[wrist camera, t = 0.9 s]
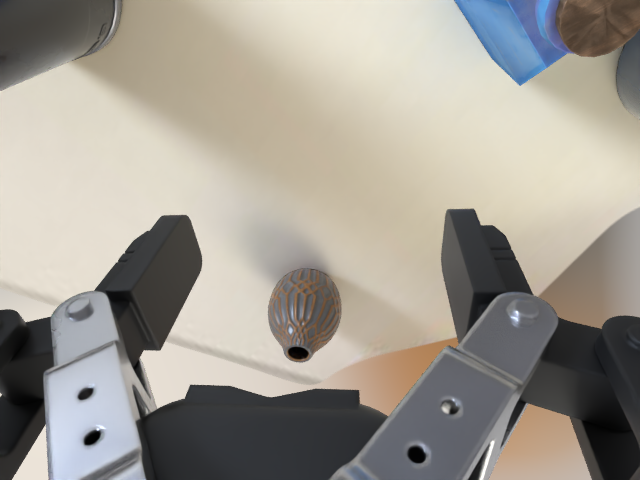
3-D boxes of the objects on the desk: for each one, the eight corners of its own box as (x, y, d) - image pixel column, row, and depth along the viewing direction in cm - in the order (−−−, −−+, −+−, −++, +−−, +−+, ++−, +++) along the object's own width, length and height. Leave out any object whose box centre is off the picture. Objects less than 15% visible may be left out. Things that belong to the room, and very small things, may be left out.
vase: (324, 248, 39) (315, 318, 32) (353, 297, 42) (351, 369, 35) (262, 269, 41) (242, 338, 34) (295, 313, 44) (282, 384, 37)
